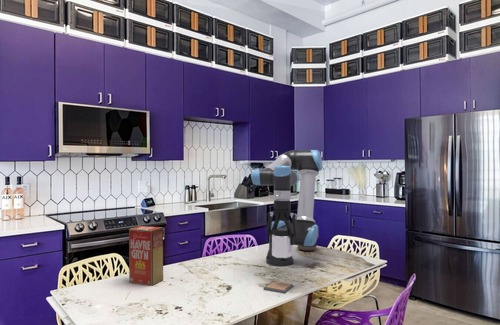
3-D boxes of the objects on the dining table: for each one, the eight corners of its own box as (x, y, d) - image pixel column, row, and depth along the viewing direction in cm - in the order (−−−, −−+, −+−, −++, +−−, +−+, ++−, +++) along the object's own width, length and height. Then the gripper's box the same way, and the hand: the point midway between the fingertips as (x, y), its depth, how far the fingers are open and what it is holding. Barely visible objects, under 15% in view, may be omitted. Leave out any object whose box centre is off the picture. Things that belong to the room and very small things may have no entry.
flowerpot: (295, 252, 221) (295, 220, 222) (296, 246, 237) (296, 216, 237) (318, 253, 219) (319, 220, 219) (318, 247, 234) (318, 217, 234)
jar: (294, 257, 157) (295, 230, 158) (278, 259, 154) (278, 231, 154) (285, 252, 166) (285, 227, 166) (269, 254, 162) (269, 228, 163)
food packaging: (127, 282, 164) (128, 228, 164) (140, 276, 173) (140, 225, 173) (152, 286, 160) (152, 230, 160) (164, 279, 169) (164, 226, 169)
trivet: (263, 289, 156) (263, 287, 156) (272, 282, 164) (272, 280, 164) (284, 293, 151) (284, 291, 151) (293, 286, 160) (293, 284, 160)
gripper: (258, 199, 162) (258, 250, 161) (300, 201, 153) (300, 255, 152) (265, 198, 169) (265, 247, 168) (306, 200, 159) (305, 252, 159)
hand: (281, 251), depth 160 cm, fingers closed on jar, 7 cm apart
